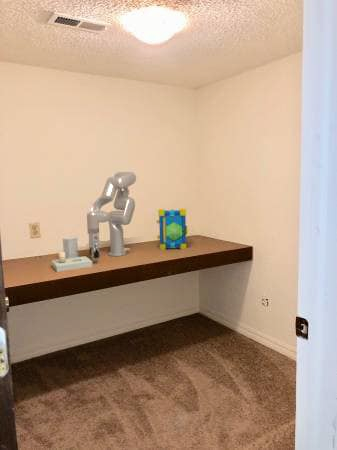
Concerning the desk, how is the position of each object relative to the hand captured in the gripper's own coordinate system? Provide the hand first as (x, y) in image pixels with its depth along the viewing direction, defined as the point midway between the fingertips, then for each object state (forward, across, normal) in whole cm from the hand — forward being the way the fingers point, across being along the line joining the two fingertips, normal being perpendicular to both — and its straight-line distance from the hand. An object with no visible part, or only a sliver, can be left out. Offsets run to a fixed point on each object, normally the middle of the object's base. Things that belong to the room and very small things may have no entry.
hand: (94, 256), depth 243 cm
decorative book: (+3, +8, -64) cm, 64 cm away
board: (+4, -3, +16) cm, 16 cm away
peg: (+4, 0, 0) cm, 4 cm away
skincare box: (+4, +17, +12) cm, 21 cm away
